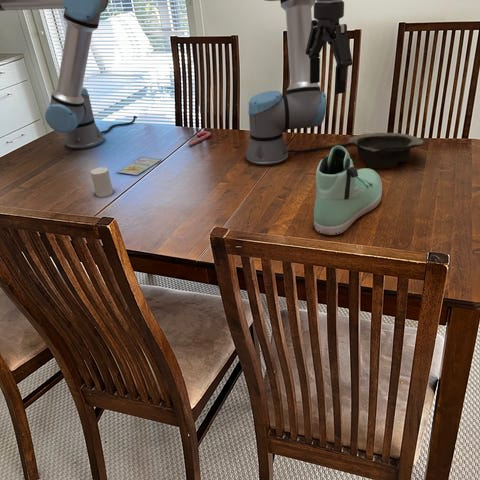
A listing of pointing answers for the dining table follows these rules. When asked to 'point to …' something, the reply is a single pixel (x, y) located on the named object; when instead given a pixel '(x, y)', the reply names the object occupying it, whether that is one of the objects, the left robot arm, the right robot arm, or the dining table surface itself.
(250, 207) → the dining table surface
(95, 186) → the canister
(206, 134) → the candy cane
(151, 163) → the baking ingredient package
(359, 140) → the stone bowl
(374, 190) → the sneaker
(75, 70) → the left robot arm
